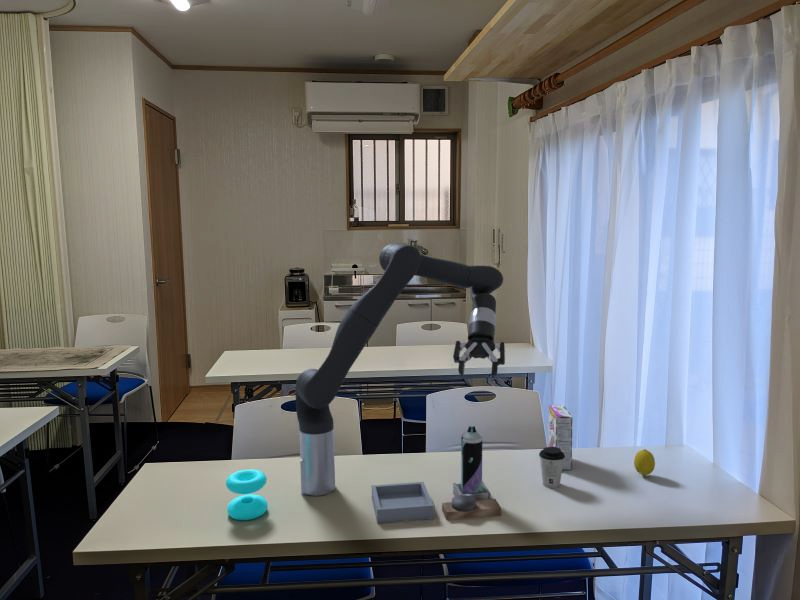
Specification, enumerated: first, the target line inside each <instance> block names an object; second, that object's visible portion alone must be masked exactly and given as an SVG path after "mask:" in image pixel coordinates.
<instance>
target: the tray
mask: <svg viewBox="0 0 800 600" xmlns="http://www.w3.org/2000/svg"><path fill="white" fill-rule="evenodd" d="M371 501H372V505H373V509H374V514H375V519H376V523H377V524H386V523H397V522H398V523H400V522H409V521H410V522H412V521H424V520H434V519H435V517H434V507H435V506H434V503H433V500H432V498H431V496H430V494H429V492H428V489H427V487H426V484H425V482H424V481H415V482H403V483H402V482H401V483H390V484H389V483H388V484H387V483H386V484H378V485H377V484H375V485H374V484H373V485H371Z"/></svg>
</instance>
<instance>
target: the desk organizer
mask: <svg viewBox="0 0 800 600" xmlns="http://www.w3.org/2000/svg"><path fill="white" fill-rule="evenodd" d="M452 486H453V487H452V492H453V497H452V498H451V501H450V502H442V503H441V511H442V513H443V516H444V518H445V520H446V521H448V520H459V519H472V518H473V519H474V517H475V518H484V517H485V518H487V517H497V516H499V515H500V516H502V506H501V505H500V504H499V502H498V500H497V499H496V498H492V494H491V492H490V490H489V488H488V487H487V485H486V484H485V483H484V481H483V480H482V493H477V494H464V495H462V493H461V481H460V482H453V483H452ZM486 516H487V517H486Z"/></svg>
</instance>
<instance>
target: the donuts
mask: <svg viewBox="0 0 800 600" xmlns="http://www.w3.org/2000/svg"><path fill="white" fill-rule="evenodd" d="M266 483H267V476H266V474H265V473H264V471H263V472H262V471H261V470H258V469H253V468H250V469H241V470H238V471H235V472H232V473H230V475H228V477H227V478H226V481H225V486H226V489H227V490H229V491H230V492H232V493H234V494H237V495H239V496H236V497H235V498H233V499H232V500H231V501H230V502H229V503H228V505H227V514H228V515H229V517H231V518H232V519H234V520H237V521H250V520H253V519H257V518H260V517H261V516H263V515H264V514H265V513H266V512H267V510H268V507H269V506H268V505H269V504H268V501H267V500H266V498H264V497H263V496H262V495H258V494H253V493H256V492H258V491H260V490H261V489H262V488H263V487H265V485H266Z"/></svg>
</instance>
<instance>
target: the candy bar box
mask: <svg viewBox="0 0 800 600" xmlns="http://www.w3.org/2000/svg"><path fill="white" fill-rule="evenodd" d="M547 422H548V425H547V426H548V430H547V431H548V435H547V437H548V444H547V445H548V446H547V447H557V448H560V449H561V451H562V452H563V453H564V455H565V458H564V461H563V467H562V471H571V470H572V467H573V466H572V463H573V462H572V461H573V457H572V456H573V416H572V414H571V413H570V412H569V410H568V409H567V408H566V407H565V405H563V404H561V405H560V404H558V405H557V404H551V405H549V404H548V419H547Z"/></svg>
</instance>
